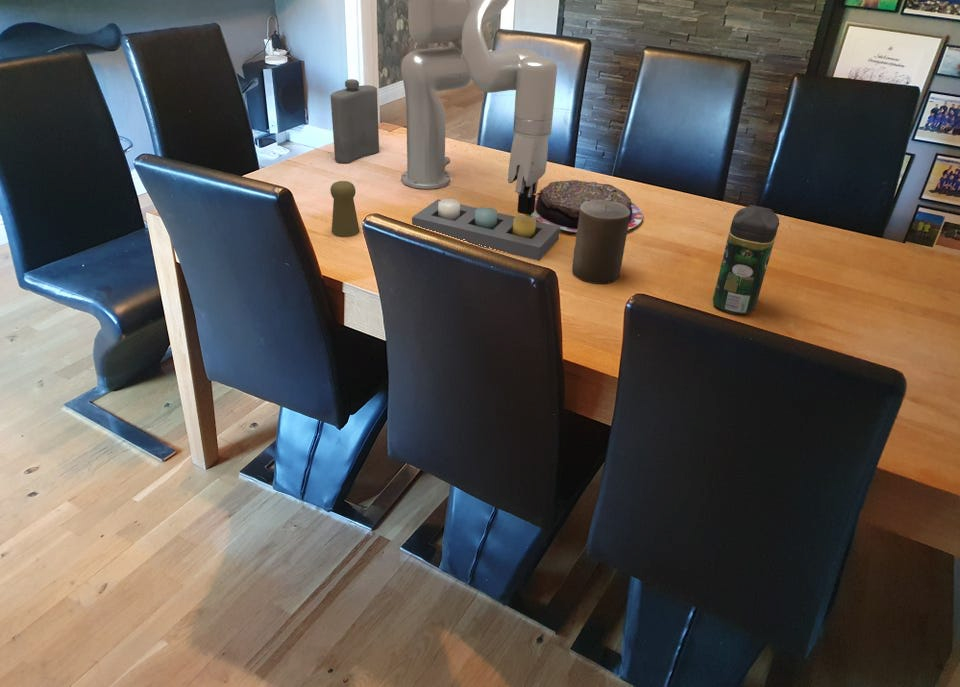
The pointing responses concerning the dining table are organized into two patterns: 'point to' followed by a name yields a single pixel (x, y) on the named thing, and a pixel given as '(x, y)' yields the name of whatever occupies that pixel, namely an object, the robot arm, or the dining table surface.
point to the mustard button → (524, 226)
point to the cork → (344, 210)
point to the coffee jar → (745, 259)
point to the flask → (355, 122)
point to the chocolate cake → (577, 203)
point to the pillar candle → (600, 241)
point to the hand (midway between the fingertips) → (525, 212)
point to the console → (489, 232)
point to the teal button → (486, 217)
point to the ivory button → (449, 209)
